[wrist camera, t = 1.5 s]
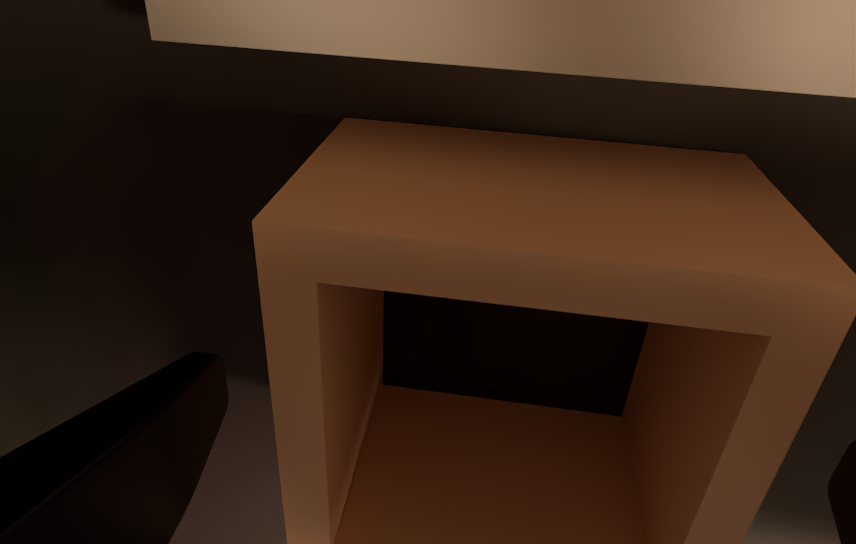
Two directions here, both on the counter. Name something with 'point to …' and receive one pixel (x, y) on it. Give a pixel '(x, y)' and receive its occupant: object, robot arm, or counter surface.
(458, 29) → the duct base
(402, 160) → the open square box
